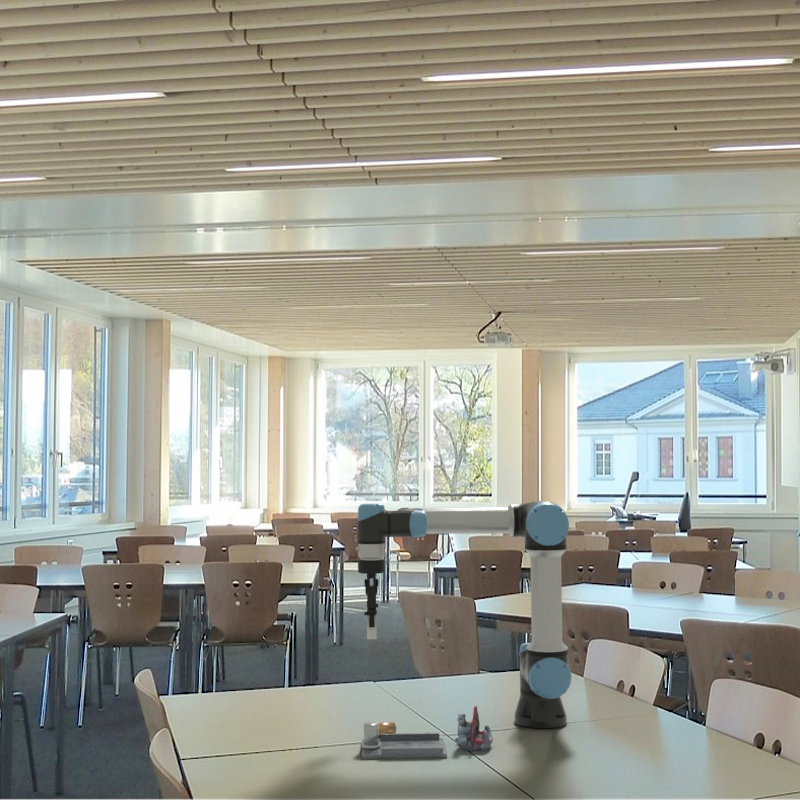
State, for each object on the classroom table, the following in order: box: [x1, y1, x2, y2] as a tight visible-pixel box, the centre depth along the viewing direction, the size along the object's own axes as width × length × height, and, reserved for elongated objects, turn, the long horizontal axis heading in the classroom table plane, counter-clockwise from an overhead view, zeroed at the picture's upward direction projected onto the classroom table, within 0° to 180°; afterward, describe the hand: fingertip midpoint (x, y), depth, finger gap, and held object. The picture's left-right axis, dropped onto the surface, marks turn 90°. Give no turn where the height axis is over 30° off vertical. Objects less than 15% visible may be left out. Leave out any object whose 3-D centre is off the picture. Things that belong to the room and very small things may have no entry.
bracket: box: [361, 721, 448, 760], centre depth 287 cm, size 22×16×7 cm
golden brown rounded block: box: [379, 720, 397, 738], centre depth 303 cm, size 6×4×4 cm, turn 122°
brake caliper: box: [454, 705, 494, 752], centre depth 290 cm, size 11×11×12 cm
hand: (371, 635), depth 303 cm, fingers open, 13 cm apart
